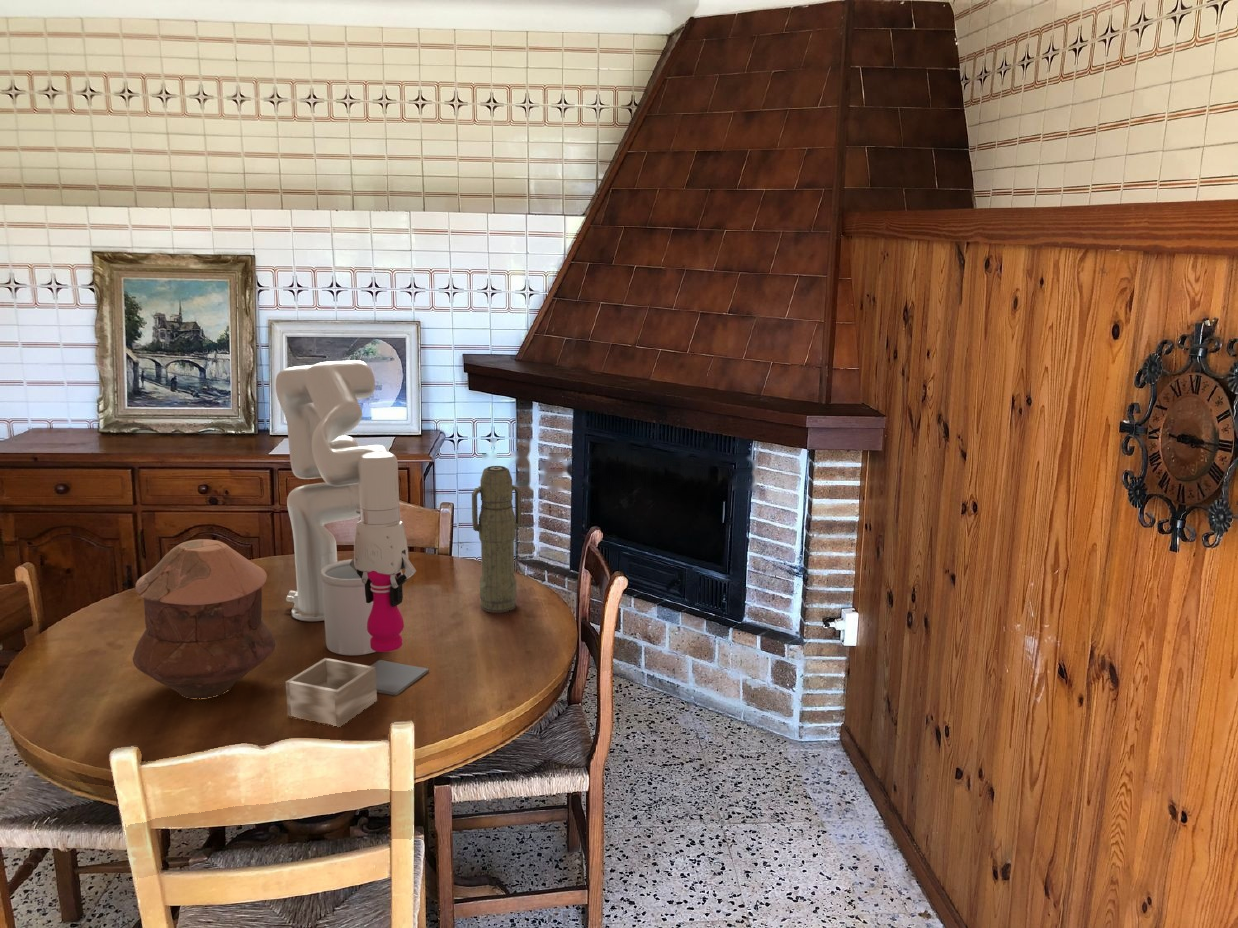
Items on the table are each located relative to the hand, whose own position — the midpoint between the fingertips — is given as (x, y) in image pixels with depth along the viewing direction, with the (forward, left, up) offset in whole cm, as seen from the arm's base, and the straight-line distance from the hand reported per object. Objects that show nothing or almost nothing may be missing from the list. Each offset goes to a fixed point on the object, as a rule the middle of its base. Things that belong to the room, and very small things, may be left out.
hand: (384, 601), depth 189 cm
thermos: (+2, +45, -17) cm, 48 cm away
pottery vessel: (-30, -17, -17) cm, 38 cm away
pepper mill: (0, 0, -10) cm, 10 cm away
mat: (0, 0, -17) cm, 17 cm away
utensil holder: (-16, +13, -17) cm, 27 cm away
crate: (-2, -15, -17) cm, 22 cm away
